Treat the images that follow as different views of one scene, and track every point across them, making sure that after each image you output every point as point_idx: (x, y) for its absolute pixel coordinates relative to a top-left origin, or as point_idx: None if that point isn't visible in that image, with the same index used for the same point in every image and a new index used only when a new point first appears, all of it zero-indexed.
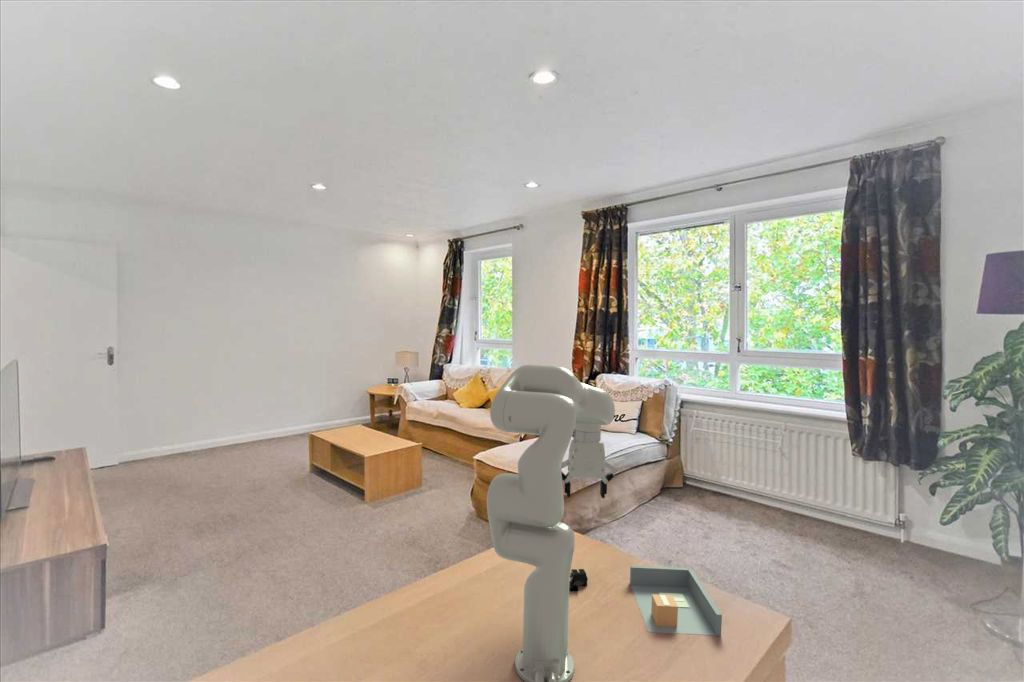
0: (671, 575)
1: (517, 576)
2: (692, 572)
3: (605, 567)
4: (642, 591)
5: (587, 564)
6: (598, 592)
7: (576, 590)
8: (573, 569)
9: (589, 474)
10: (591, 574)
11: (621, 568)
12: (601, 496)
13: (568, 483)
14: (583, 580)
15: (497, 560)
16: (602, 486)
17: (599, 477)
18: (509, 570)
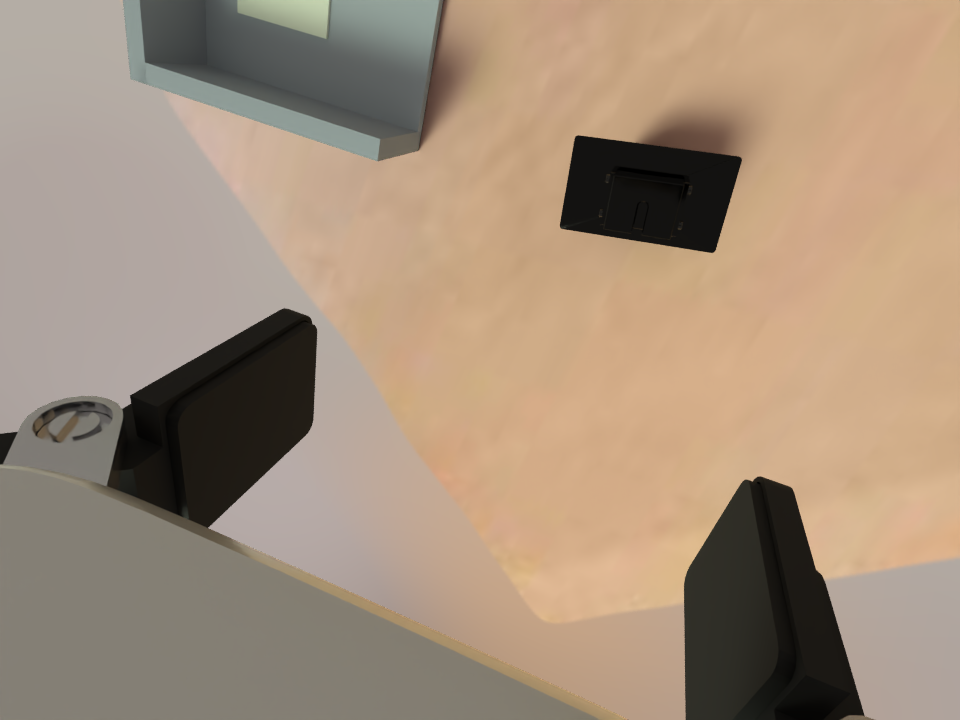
0: (230, 83)
1: (913, 346)
2: (132, 36)
3: (463, 306)
4: (387, 67)
5: (526, 347)
6: (579, 116)
7: (677, 153)
8: (659, 236)
9: (252, 676)
10: (543, 270)
11: (404, 282)
12: (313, 357)
13: (841, 690)
14: (631, 172)
15: (927, 498)
16: (199, 395)
17: (59, 477)
18: (921, 406)
